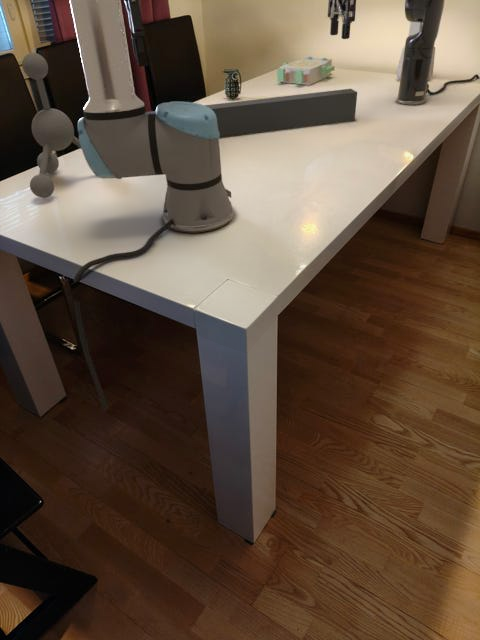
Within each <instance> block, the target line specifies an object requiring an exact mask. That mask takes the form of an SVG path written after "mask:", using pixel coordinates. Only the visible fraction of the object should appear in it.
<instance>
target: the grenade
mask: <svg viewBox="0 0 480 640" xmlns="http://www.w3.org/2000/svg"><path fill="white" fill-rule="evenodd" d="M221 72H222V73H223V74H226V76H227V77H226V78H225V80H224V81H225V82H224V94H225V97H226V98H227V99H229V100H237V98H238V97H239V96H240V95H241V92H242V74H241V73H240V71H239V69H237V68H224V69H222V71H221ZM236 76H237V77H236Z"/></svg>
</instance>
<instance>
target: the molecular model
mask: <svg viewBox="0 0 480 640" xmlns="http://www.w3.org/2000/svg"><path fill="white" fill-rule="evenodd" d="M21 67H22V71H23V72H24V74H25V75H26V76H27V77H28V78H30V79H32V80H34V81H35V82H36V87H37V89H38V90H37V91H38V94H39V97H40V100H41V105H42V107H43V109H40V111H38V112H36V114H35V115H34V116H33V119H32V122H31V133H32V136H33V138H34V139H35V141H36V142H37V144H38V145H39V146H41V147H42V152H41V153H39V155H38V156H37V159H36V164H37V166H38V169H39V173H38V174H35V175H34V176H32V178H31V179H30V181H29V188H30V191H31V192H32V194H33V195H34V196H36V197H38V198H41V199H45V198H48V197H50V196H52V195H53V193H54V191H55V183H54V181H53V180H52V178H51V177H50V176H48V175H47V174H52V173H55V172H56V171H57V170H58V169H59V165H60V162H59V161H60V160H59V159H58V157H57V155H56V154H54V153H53V152H58V151H63V150H65V149H67V148H68V147H69V146H70V145H71V144H74V145H75V146H77V148H79V149H80V150H82V148H81V145H80V141H79V138H78V137H76V136H75V128H74V125H73V122H72V121H71V119H70V118H69V116H68V115H67V114H65V113H64V112H63V111H61V110H59V109H56V108H51V105H50V102H49V98H48V95H47V91H46V87H45V83H44V80H43V79H44V78H46V76H47V75H48V72H49V65H48V62H47V60H46V59H45V58H44V57H43V56H42V55H41V54H40V53H37V52H29V53H27V54H25V55H24V57H23V58H22V61H21Z"/></svg>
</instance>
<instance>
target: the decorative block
mask: <svg viewBox="0 0 480 640" xmlns="http://www.w3.org/2000/svg"><path fill="white" fill-rule="evenodd" d="M335 67H336V66H335V65H333V58H327V57H322V58H320V57H312V56H308V57H306V58H303V59H297V60H295V61H292V62H287V61H286V62H282V65H281V66H279V68H277V71H276V72H277V77H276V78H277V80H276V81H277V82H279V83H288V84H298V85H307V86H311V85H312V84H315V83H317V82H320V81H322V80H324V79H326V78H328V77H329V76H330V75H331V74H332V72H333V71H335Z"/></svg>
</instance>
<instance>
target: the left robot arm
mask: <svg viewBox="0 0 480 640" xmlns="http://www.w3.org/2000/svg"><path fill="white" fill-rule="evenodd" d="M123 2H124V4H125V9H126V12H127V16H128V26H129V30H130V37H131V43H132V48H133V56H134V58H135V59H136V60H137V67H149V59H148V52H147V51H148V50H147V46H146V38H145V34H146V32H145V30H144V24H143V18H142V7H141V0H123ZM69 4H70V9H71V14H72V19H73V24H74V29H75V33H76V39H77V44H78V48H79V53H80V58H81V63H82V69H83V73H84V78H85V84H86V89H87V94H88V101H87V102H86V103H85V105H84V106H83V108H82V109H83V110H82V111H83V114H84V116H83V117H81V118H79V120H78V121H77V132H78V139H79V141H80V145H81V148H82V149H81V148H80V149H81V151H82V155H83V157H84V159H85V161H86V163H87V166H88V168H89V169H90V170H91V171H92V173H93V174H94V175H95V176H96V177H97V178H101V179H117V180H122V179H125V178H136V177H149V176H162V175H163V176H164V175H165V180H166V190H165V191H166V192H165V196H164V203H163V207H162V218H163V222H164V225H162V226H161V227H160V228H159V229H157V230H156V231H155V232H154V233H153V234H152V235H150V237H149V238H148V239H147V240H146V243H145V244H144V245H143V246H142V247H140V248H138V249H136V250H131V251H126V252H118V253H112V254H108V255H106V256H105V255H104V256H102V257H99V258H95V259H92V260H90V261H88V262H87V263H85V264H83V265H82V266H81V267H80V268H79V269H78V270H77V272H76V274H75V276H74V278H73V280H72V281H73V283H78V282H79V281H80V280H81V279H82V277H83V275H84V274H85V272H86V271H87V270H88V269H91V268H92V267H94V266H97V265H100V264H104V263H107V262H109V261H112V260H117V259H125V258H132V257H137V256H139V255H142V254H143V253H145V252H146V251H148V250H149V248H150V247H151V245H152V244H153V242H154V241H155V240H156V239H157V238H158V237H159V236H160V235H162V234H163V233H164V232H165V231H166V230H167V229H171V230H173V231H177V232H180V233H190V234H191V233H192V234H193V233H194V234H195V233H196V234H197V233H205V232H206V233H207V232H210V231H215V230H216V229H220V228H222V227H224V226H226V225H227V224H228V223H230V221H231V220H232V218H233V216H234V212H233V211H234V210H233V205H232V201H231V200H230V198H231V199H232V191H230V190H229V189H227V188H226V187H225V184H224V182H223V175H222V174H223V173H222V164H221V153H220V152H221V150H220V138H219V136H220V133H219V131H218V124H217V117H216V114H215V113H214V111H213V110H211V109H210V108H209V107H206V106H204V105H205V104H201V103H197V102H192V101H180V100H179V101H169V102H162V103H159V104H158V105H156V109H155V110H154V111H155V112H156V113H152V114H146V112H147V111H146V105H145V102H144V101H143V100H142V99H140V98H139V97H138V95H136V92H135V91H136V90H135V85H134V79H133V72H132V66H131V60H130V53H129V45H128V41H127V40H128V39H127V34H126V26H125V20H124V14H123V6H122V1H121V0H69ZM73 304H74V311H75V313H74V314H75V318H76V326H77V331H78V335H79V340H80V343H81V348H82V351H83V355H84V358H85V360H86V363H87V366H88V369H89V371H90V372H89V373H90V374H91V377H92V380H93V383H94V385H95V389H96V391H97V394H98V397H99V400H100V403H101V406H102V410H103V411H107V410H108V404H107V402H106V398H105V395H104V391H103V389H102V386H101V385H102V384H101V383H100V380H99V377H98V374H97V372H96V369H95V366H94V362H93V360H92V357H91V354H90V351H89V347H88V343H87V340H86V336H85V330H84V324H83V320H82V319H83V318H82V311H81V303H80V301H78V300H75V299H74V300H73Z"/></svg>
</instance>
